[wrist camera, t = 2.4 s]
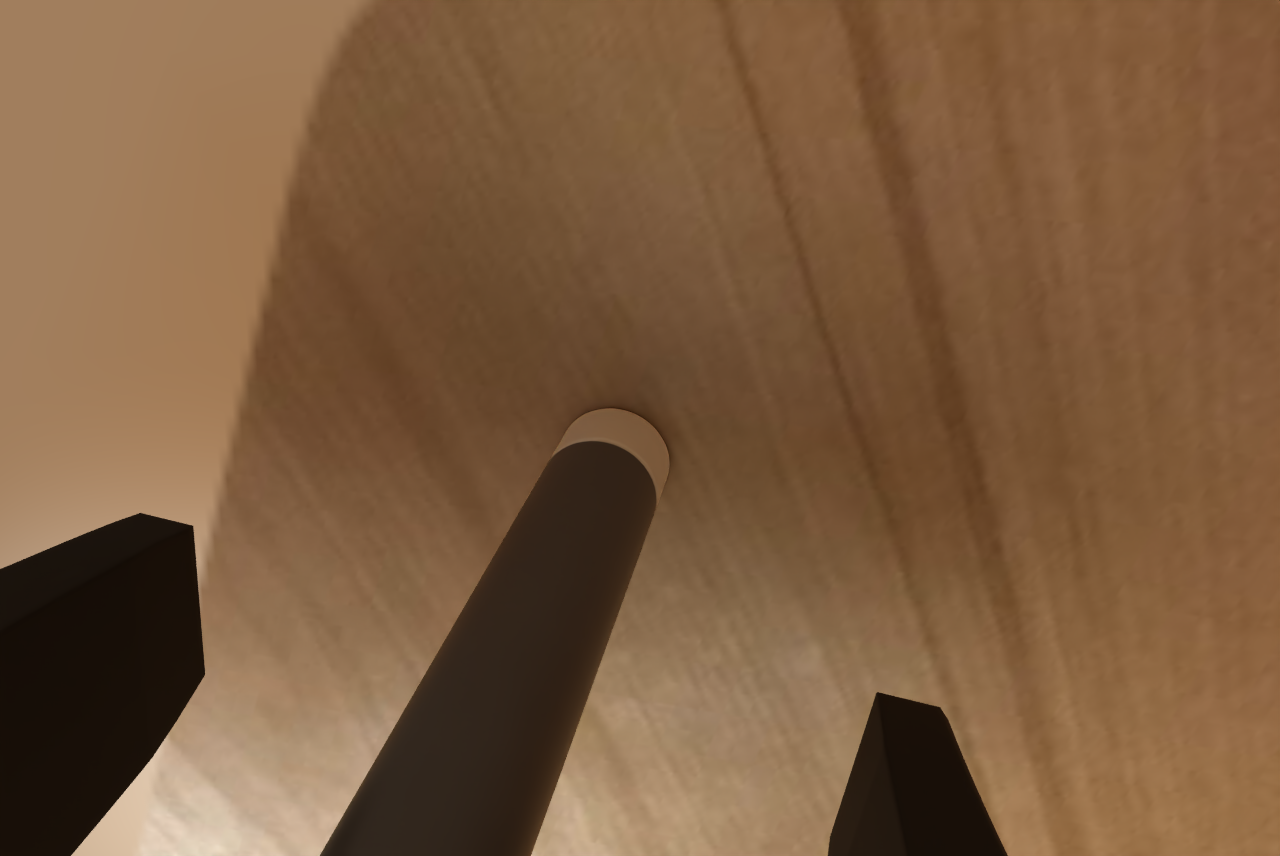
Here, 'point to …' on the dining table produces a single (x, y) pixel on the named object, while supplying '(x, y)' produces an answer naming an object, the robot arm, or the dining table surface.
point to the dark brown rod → (516, 659)
